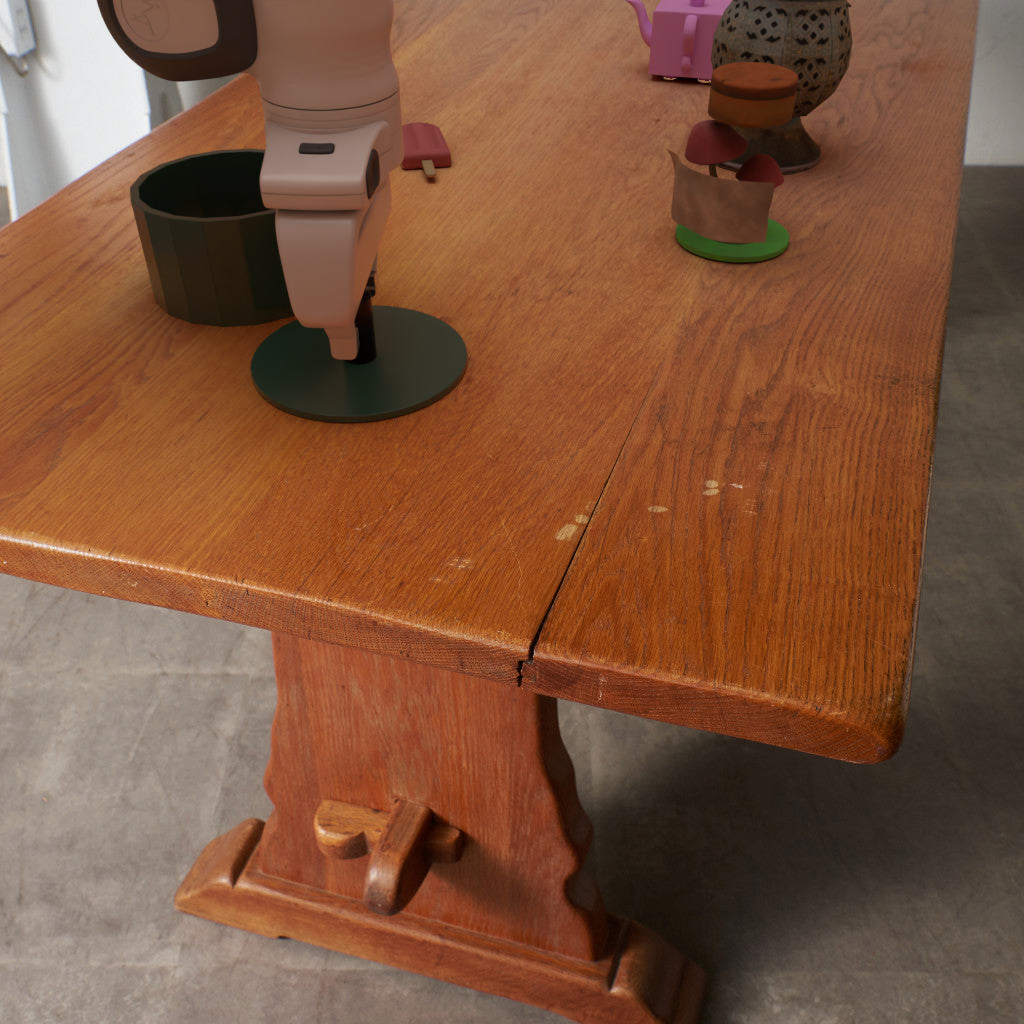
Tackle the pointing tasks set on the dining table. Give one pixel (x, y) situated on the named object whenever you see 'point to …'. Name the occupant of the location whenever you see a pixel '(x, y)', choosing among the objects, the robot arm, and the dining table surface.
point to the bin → (211, 240)
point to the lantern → (787, 66)
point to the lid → (361, 366)
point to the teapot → (680, 36)
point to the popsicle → (424, 148)
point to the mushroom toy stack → (744, 203)
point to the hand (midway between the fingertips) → (356, 322)
